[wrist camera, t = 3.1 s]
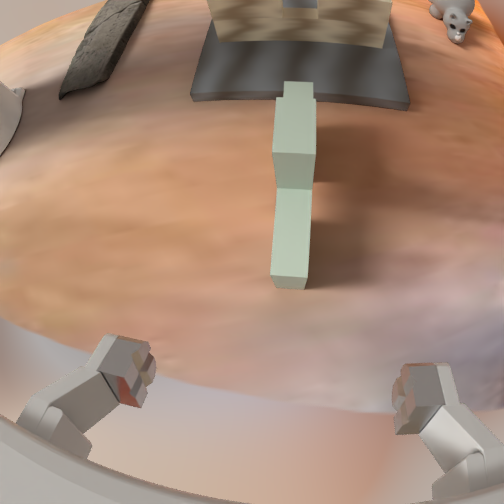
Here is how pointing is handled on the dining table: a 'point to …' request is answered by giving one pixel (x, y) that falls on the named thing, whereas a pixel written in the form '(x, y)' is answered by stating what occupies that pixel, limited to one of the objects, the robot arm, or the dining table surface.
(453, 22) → the chubby cartoon animal
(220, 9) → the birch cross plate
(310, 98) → the sage slotted plate
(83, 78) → the stone slab
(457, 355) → the dining table surface
